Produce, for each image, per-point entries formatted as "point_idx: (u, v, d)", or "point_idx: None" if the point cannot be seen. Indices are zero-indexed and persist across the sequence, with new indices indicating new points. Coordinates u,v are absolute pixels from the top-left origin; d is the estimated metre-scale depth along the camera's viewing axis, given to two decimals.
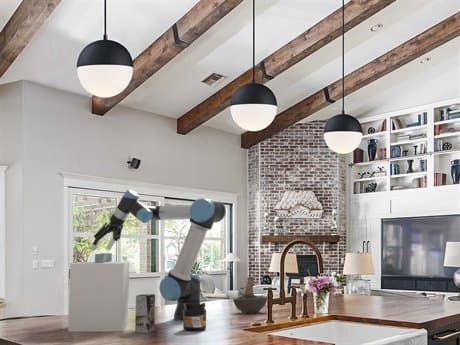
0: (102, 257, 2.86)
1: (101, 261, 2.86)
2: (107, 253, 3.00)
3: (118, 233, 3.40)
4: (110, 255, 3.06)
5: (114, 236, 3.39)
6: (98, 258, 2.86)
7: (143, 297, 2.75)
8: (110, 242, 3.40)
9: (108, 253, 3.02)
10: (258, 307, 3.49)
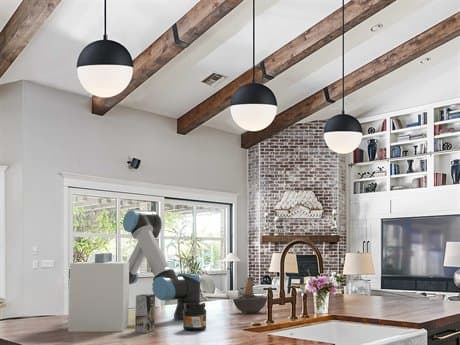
0: (102, 257, 2.86)
1: (101, 261, 2.86)
2: (107, 253, 3.00)
3: None
4: (110, 255, 3.06)
5: None
6: (98, 258, 2.86)
7: (143, 297, 2.75)
8: None
9: (108, 253, 3.02)
10: (258, 307, 3.49)
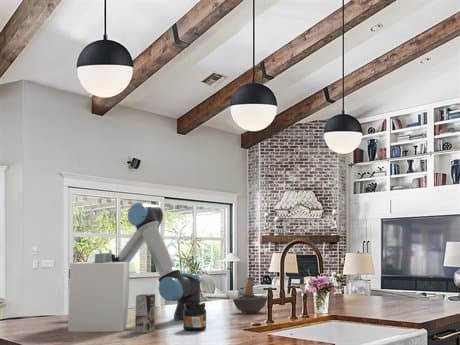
0: (102, 257, 2.86)
1: (101, 261, 2.86)
2: (107, 253, 3.00)
3: None
4: None
5: None
6: (98, 258, 2.86)
7: (143, 297, 2.75)
8: (110, 256, 3.05)
9: (108, 253, 3.02)
10: (258, 307, 3.49)
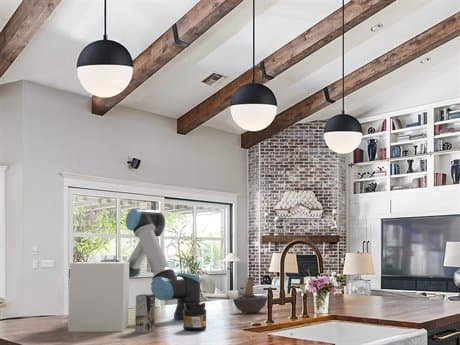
0: None
1: None
2: (112, 259, 3.16)
3: None
4: None
5: None
6: None
7: (143, 297, 2.75)
8: None
9: (113, 259, 3.18)
10: (258, 307, 3.49)
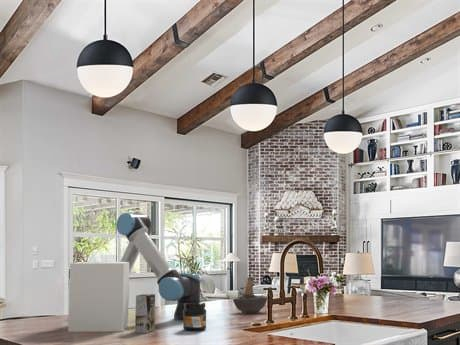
0: None
1: None
2: None
3: None
4: None
5: None
6: None
7: (143, 297, 2.75)
8: None
9: None
10: (258, 307, 3.49)
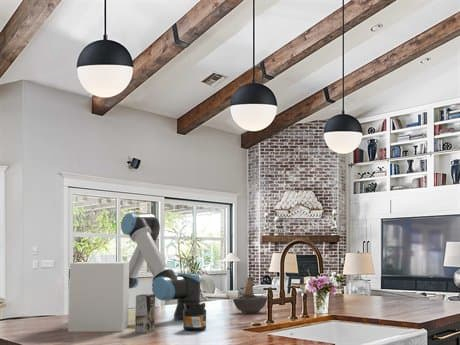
0: None
1: None
2: None
3: None
4: None
5: None
6: None
7: (143, 297, 2.75)
8: None
9: None
10: (258, 307, 3.49)
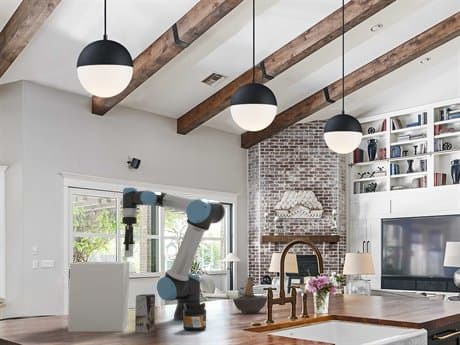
0: None
1: None
2: None
3: None
4: None
5: (130, 240, 3.37)
6: None
7: (143, 297, 2.75)
8: (129, 248, 3.37)
9: None
10: (258, 307, 3.49)
